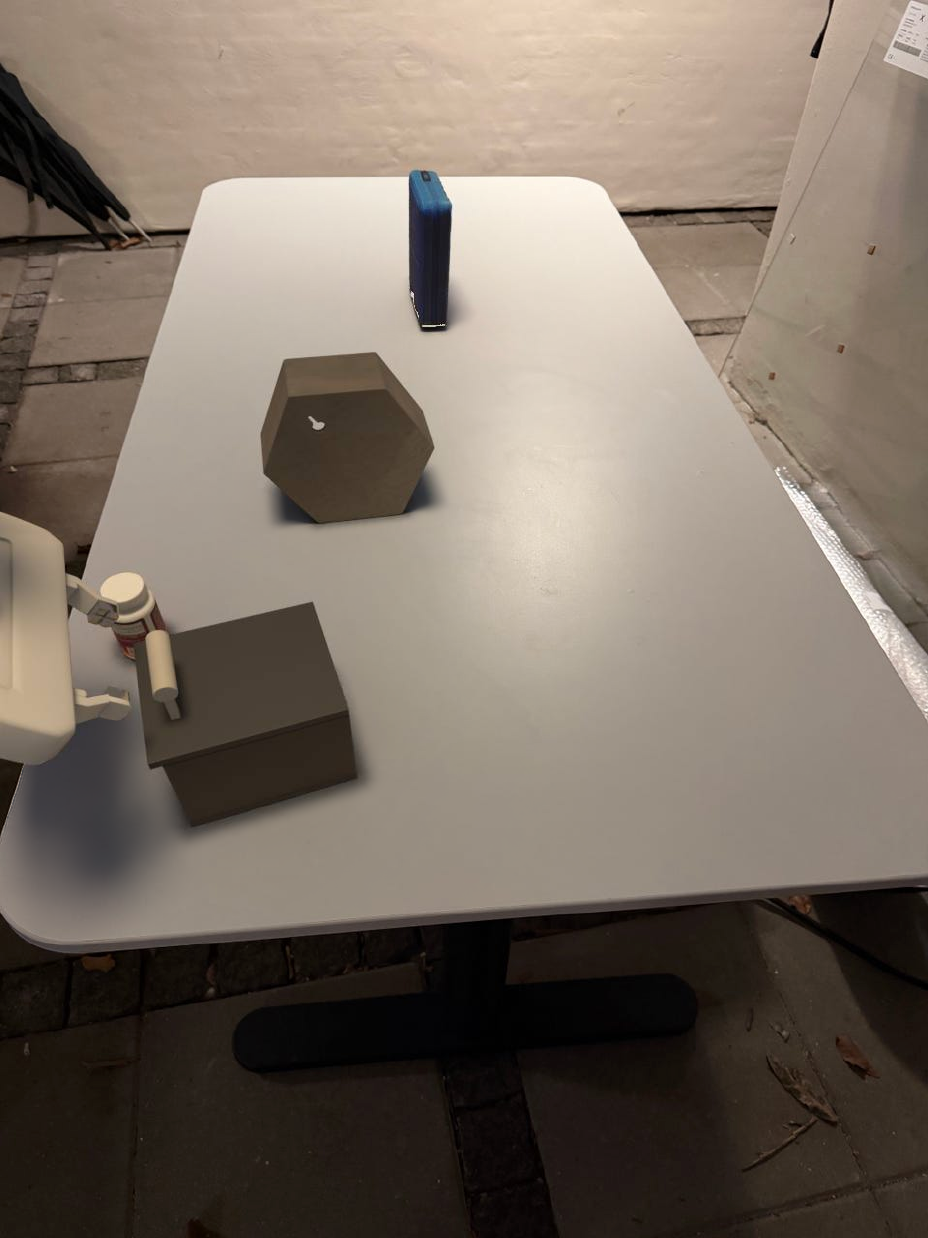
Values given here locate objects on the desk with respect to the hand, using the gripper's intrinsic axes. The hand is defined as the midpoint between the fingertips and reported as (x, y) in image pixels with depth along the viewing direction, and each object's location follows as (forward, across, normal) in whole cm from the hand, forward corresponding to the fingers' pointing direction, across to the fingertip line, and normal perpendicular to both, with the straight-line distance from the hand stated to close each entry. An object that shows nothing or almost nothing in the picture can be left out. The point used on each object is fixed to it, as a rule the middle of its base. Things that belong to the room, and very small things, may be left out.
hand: (120, 658), depth 59 cm
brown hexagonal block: (+29, +31, -7) cm, 43 cm away
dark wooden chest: (+17, -1, +5) cm, 17 cm away
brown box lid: (+9, -1, -2) cm, 10 cm away
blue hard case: (+47, +74, -25) cm, 92 cm away
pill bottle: (+11, +15, +11) cm, 22 cm away
